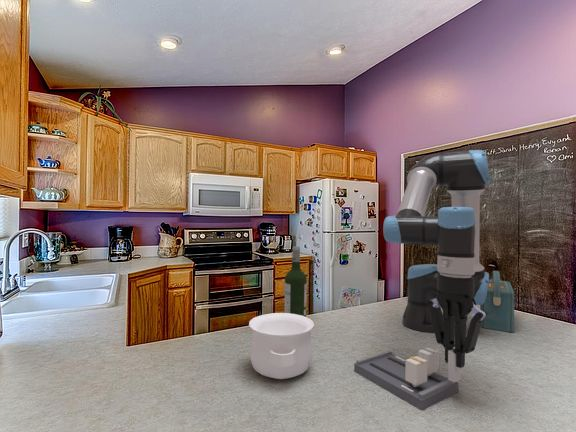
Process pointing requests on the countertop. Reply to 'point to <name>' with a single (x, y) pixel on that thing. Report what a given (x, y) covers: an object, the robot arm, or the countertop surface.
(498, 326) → the teal lunch box
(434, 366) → the fader high
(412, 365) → the fader low
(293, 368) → the pot
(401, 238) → the robot arm
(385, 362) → the console
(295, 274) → the wine bottle
